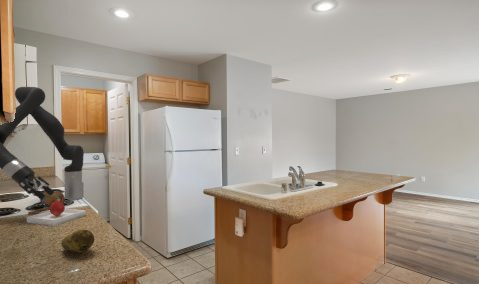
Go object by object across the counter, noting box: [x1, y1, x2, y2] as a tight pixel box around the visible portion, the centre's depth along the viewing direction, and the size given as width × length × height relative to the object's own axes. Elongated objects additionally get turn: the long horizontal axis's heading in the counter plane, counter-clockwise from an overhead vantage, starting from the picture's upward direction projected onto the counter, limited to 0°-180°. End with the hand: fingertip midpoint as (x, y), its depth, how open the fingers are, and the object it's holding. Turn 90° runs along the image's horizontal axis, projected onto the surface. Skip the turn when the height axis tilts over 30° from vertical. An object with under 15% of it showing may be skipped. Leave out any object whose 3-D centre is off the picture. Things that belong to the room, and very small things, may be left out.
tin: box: [39, 190, 65, 205], centre depth 146 cm, size 15×3×8 cm, turn 73°
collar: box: [27, 206, 50, 216], centre depth 132 cm, size 11×11×2 cm
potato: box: [60, 229, 95, 254], centre depth 85 cm, size 8×13×8 cm, turn 39°
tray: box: [26, 208, 87, 227], centre depth 121 cm, size 16×16×2 cm
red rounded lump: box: [48, 199, 66, 217], centre depth 122 cm, size 6×6×8 cm
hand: (48, 195), depth 121 cm, fingers open, 8 cm apart
